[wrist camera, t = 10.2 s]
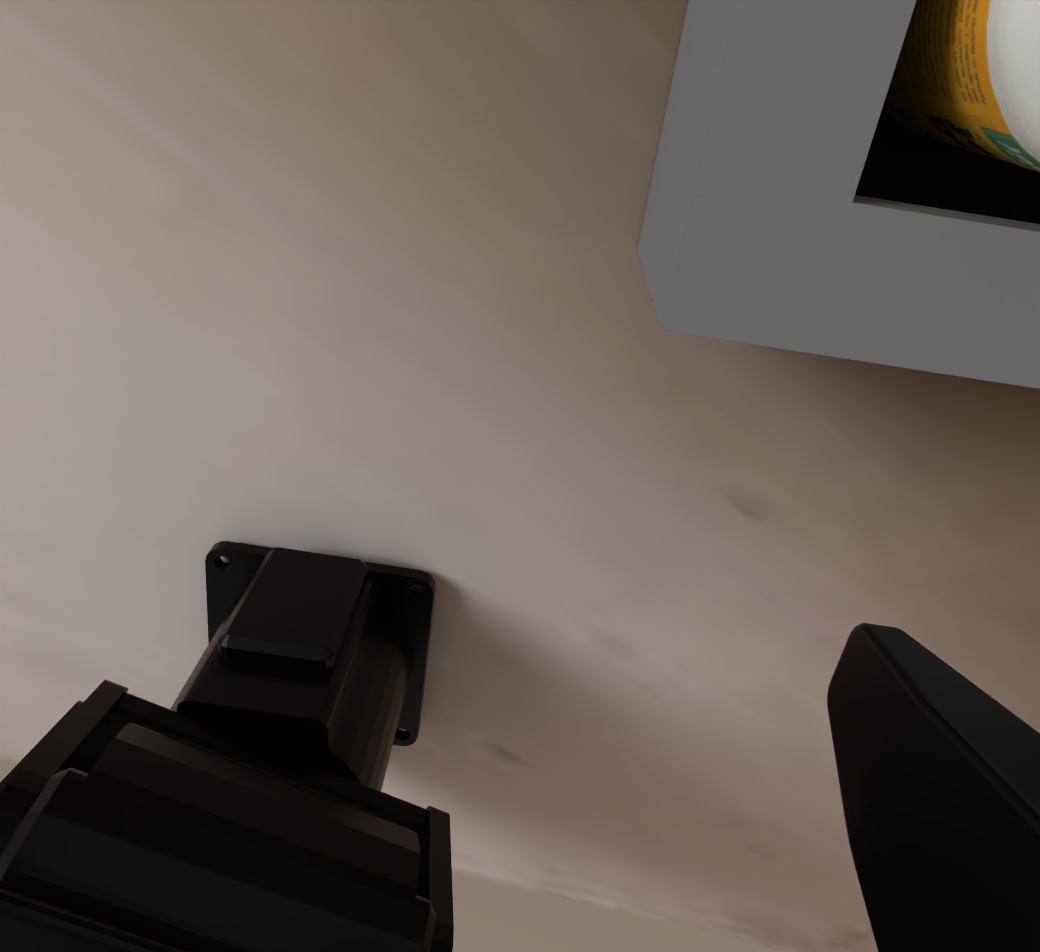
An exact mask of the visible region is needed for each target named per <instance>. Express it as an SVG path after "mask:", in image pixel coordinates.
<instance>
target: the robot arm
mask: <svg viewBox="0 0 1040 952" xmlns="http://www.w3.org/2000/svg"><path fill="white" fill-rule="evenodd" d="M220 556H224V557H226V558H228V559H229V560H230V561H231V563H226V562H224V561H222V560H221V559H220ZM205 565H206V589H207V613H208V636H209V645H208V647H207V648H206V650H205V652H204V653H203V655H202V657H201V658H200V660H199V662H198V664H197V665H196V667H195V669H194V670H193V672H192V674H191V675H190V677H189V679H188V680H187V682H186V684H185V685H184V687H183V689H182V690H181V692H180V694H179V695H178V697H177V699H176V700H175V702H174V704H173V705H172V707H171V709H167V708H165V707H162V706H160V705H157V704H155V703H152V702H149V701H147V700H144V699H142V698H139V697H137V696H134V695H131V694H129V693H127V691H128V688H126V687H123V686H121V685H118V684H116V683H113V682H111V681H108V680H104V681H103V682H102V683H101V684H100V685H99V686H98V688H97V689H96V690H95V691H94V692H93V693H92V694H91V695H90V696H89V697H88V698H87V699H86V700H85V701H84V702H82V701H78V702H77V703H76V704H75V705H74V706H73V707H72V708H71V709H70V710H69V711H68V712H67V713H66V714H65V715H64V716H63V717H62V718H61V719H60V721H59V722H58V723H57V724H56V725H55V726H54V727H53V728H52V729H51V730H50V731H49V732H48V733H47V734H46V735H45V736H44V737H43V738H42V739H41V740H40V741H39V743H38V744H37V745H36V746H35V747H34V748H33V749H32V750H31V751H30V752H29V753H28V754H27V755H26V756H25V757H24V758H23V759H22V760H21V761H20V762H19V763H18V765H17V766H16V767H15V768H14V769H13V770H12V771H11V772H10V773H9V774H8V775H7V776H6V777H5V778H4V779H3V780H2V781H1V782H0V952H452V949H453V930H454V929H453V928H454V927H453V926H454V925H453V900H452V899H453V897H452V869H451V841H450V815H449V813H446V812H444V811H441V810H439V809H436V808H434V807H431V806H428V807H427V809H424V808H422V807H419V806H417V805H414V804H411V803H409V802H406V801H404V800H401V799H399V798H396V797H393V796H391V795H388V794H386V793H383V792H381V789H382V785H383V781H384V777H385V773H386V769H387V765H388V761H389V757H390V753H391V749H392V745H398V746H408V745H411V744H413V743H414V742H415V741H416V739H417V737H418V732H419V728H420V719H421V710H422V702H423V693H424V684H425V676H426V667H427V658H428V650H429V641H430V632H431V624H432V615H433V606H434V598H435V589H436V585H435V581H434V579H433V577H432V576H431V575H429V574H428V573H427V572H424V571H421V570H415V569H409V568H402V567H395V566H389V565H382V564H375V563H369V562H362V561H361V560H358V559H352V558H345V557H338V556H332V555H325V554H318V553H312V552H305V551H298V550H292V549H285V548H269V547H262V546H255V545H249V544H242V543H235V542H229V541H221V542H219V543H216V544H215V545H214V546H213V547H212V549H211V550H210V551H209V553H208V554H207V556H206V560H205ZM412 585H418V586H420V587H422V588H423V589H424V591H422V592H417V591H414V590H413V589H412V588H411V586H412ZM827 706H828V714H829V720H830V726H831V733H832V739H833V746H834V752H835V758H836V765H837V771H838V778H839V784H840V791H841V797H842V803H843V810H844V816H845V822H846V828H847V833H848V838H849V844H850V848H851V852H852V856H853V860H854V864H855V868H856V872H857V875H858V879H859V883H860V886H861V890H862V894H863V897H864V901H865V905H866V908H867V912H868V916H869V919H870V923H871V927H872V930H873V934H874V938H875V941H876V945H877V948H878V952H1040V733H1038V732H1037V731H1036V730H1034V729H1033V728H1032V727H1030V726H1029V725H1028V724H1026V723H1025V722H1024V721H1022V720H1021V719H1020V718H1018V717H1017V716H1016V715H1014V714H1013V713H1012V712H1010V711H1009V710H1008V709H1006V708H1005V707H1004V706H1002V705H1001V704H1000V703H998V702H997V701H996V700H994V699H993V698H992V697H990V696H989V695H988V694H986V693H985V692H984V691H982V690H981V689H980V688H978V687H977V686H976V685H974V684H973V683H972V682H970V681H969V680H968V679H966V678H965V677H964V676H962V675H961V674H960V673H958V672H957V671H956V670H954V669H953V668H952V667H950V666H949V665H948V664H946V663H945V662H944V661H942V660H941V659H940V658H938V657H937V656H936V655H934V654H933V653H932V652H930V651H929V650H928V649H926V648H925V647H924V646H922V645H921V644H920V643H918V642H917V641H916V640H914V639H913V638H912V637H910V636H909V635H908V634H906V633H905V632H904V631H902V630H901V629H898V628H895V627H888V626H881V625H874V624H867V623H862V624H860V625H857V626H856V627H855V628H854V629H853V630H852V632H851V633H850V635H849V638H848V640H847V642H846V645H845V647H844V650H843V652H842V655H841V657H840V659H839V662H838V664H837V667H836V669H835V672H834V674H833V676H832V679H831V681H830V684H829V689H828V695H827ZM398 728H403V729H406V730H407V731H402V730H399V729H398Z"/></svg>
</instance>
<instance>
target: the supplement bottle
mask: <svg viewBox="0 0 1040 952" xmlns="http://www.w3.org/2000/svg"><path fill="white" fill-rule="evenodd" d="M883 105H884V107H885V108H886V109H887V110H888V111H889V112H890V113H891V114H892V115H893V116H894V117H895V118H896V119H897V120H899V121H900V122H901V123H902V124H904V125H905V126H906V127H908V128H909V129H911V130H912V131H914V132H916V133H918V134H920V135H922V136H925V137H928V138H931V139H934V140H937V141H940V142H943V143H947V144H950V145H954V146H957V147H961V148H964V149H967V150H970V151H973V152H977V153H980V154H982V155H986V156H990V157H992V158H996V159H999V160H1003V161H1006V162H1010V163H1013V164H1016V165H1019V166H1022V167H1025V168H1028V169H1031V170H1035V171H1038V172H1040V0H916V3H915V7H914V10H913V13H912V16H911V19H910V22H909V26H908V29H907V32H906V35H905V38H904V41H903V44H902V48H901V51H900V54H899V57H898V60H897V63H896V67H895V70H894V73H893V76H892V79H891V82H890V85H889V89H888V92H887V95H886V98H885V101H884V104H883Z"/></svg>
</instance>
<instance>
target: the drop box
mask: <svg viewBox="0 0 1040 952" xmlns="http://www.w3.org/2000/svg"><path fill="white" fill-rule="evenodd" d="M915 3H916V0H688V5H687V10H686V15H685V20H684V25H683V30H682V34H681V39H680V44H679V49H678V54H677V59H676V64H675V68H674V73H673V78H672V83H671V88H670V93H669V98H668V102H667V107H666V112H665V117H664V122H663V127H662V132H661V137H660V141H659V146H658V151H657V156H656V161H655V166H654V171H653V175H652V180H651V185H650V190H649V195H648V200H647V205H646V209H645V214H644V219H643V224H642V229H641V234H640V239H639V243H638V248H637V250H638V254H639V257H640V261H641V264H642V268H643V271H644V275H645V278H646V282H647V285H648V288H649V292H650V295H651V299H652V302H653V306H654V309H655V313H656V316H657V320H658V323H659V326H660V330H664V331H670V332H677V333H683V334H690V335H696V336H702V337H709V338H715V339H722V340H728V341H735V342H741V343H748V344H754V345H760V346H767V347H773V348H780V349H786V350H793V351H799V352H805V353H812V354H818V355H825V356H831V357H838V358H844V359H851V360H857V361H863V362H870V363H876V364H883V365H889V366H896V367H902V368H909V369H915V370H921V371H928V372H934V373H941V374H947V375H954V376H960V377H966V378H973V379H979V380H986V381H992V382H999V383H1005V384H1012V385H1018V386H1024V387H1031V388H1037V389H1040V224H1035V223H1029V222H1023V221H1016V220H1010V219H1004V218H997V217H991V216H985V215H978V214H972V213H966V212H959V211H953V210H947V209H940V208H934V207H928V206H922V205H915V204H909V203H903V202H896V201H890V200H884V199H877V198H871V197H865V196H858V195H855V193H856V190H857V186H858V183H859V180H860V177H861V174H862V171H863V167H864V164H865V161H866V158H867V155H868V152H869V149H870V145H871V142H872V139H873V136H874V133H875V130H876V126H877V123H878V120H879V117H880V114H881V111H882V108H883V104H884V101H885V98H886V95H887V92H888V89H889V85H890V82H891V79H892V76H893V73H894V70H895V67H896V63H897V60H898V57H899V54H900V51H901V48H902V44H903V41H904V38H905V35H906V32H907V29H908V26H909V22H910V19H911V16H912V13H913V10H914V7H915Z"/></svg>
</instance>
